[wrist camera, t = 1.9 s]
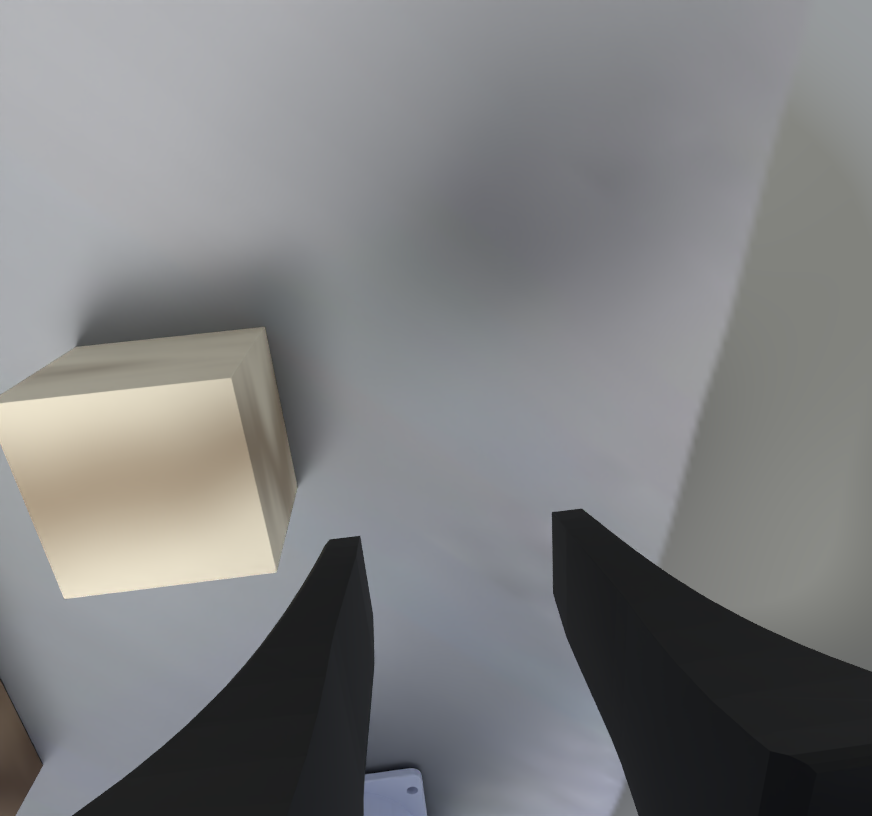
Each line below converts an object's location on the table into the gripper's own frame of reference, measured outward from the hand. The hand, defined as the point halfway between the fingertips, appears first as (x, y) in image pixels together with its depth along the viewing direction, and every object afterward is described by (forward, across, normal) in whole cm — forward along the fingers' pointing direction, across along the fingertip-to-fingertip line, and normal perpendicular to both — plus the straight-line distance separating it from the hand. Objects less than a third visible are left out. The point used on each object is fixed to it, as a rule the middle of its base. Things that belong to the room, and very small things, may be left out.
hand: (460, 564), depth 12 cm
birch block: (+10, +8, 0) cm, 12 cm away
